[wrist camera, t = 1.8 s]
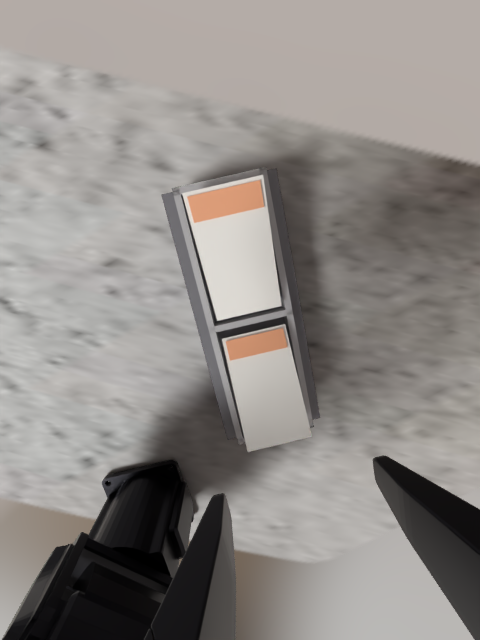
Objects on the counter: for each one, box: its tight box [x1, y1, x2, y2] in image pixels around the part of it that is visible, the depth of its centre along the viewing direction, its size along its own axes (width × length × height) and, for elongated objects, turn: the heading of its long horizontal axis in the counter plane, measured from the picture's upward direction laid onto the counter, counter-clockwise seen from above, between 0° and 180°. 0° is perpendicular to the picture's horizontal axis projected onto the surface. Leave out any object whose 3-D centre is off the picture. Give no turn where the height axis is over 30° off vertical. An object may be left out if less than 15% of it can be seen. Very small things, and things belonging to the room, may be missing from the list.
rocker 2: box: [222, 324, 312, 452], centre depth 15 cm, size 4×7×1 cm, turn 13°
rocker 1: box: [182, 175, 282, 321], centre depth 14 cm, size 4×7×1 cm, turn 13°
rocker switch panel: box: [162, 167, 320, 444], centre depth 17 cm, size 7×17×4 cm, turn 13°
